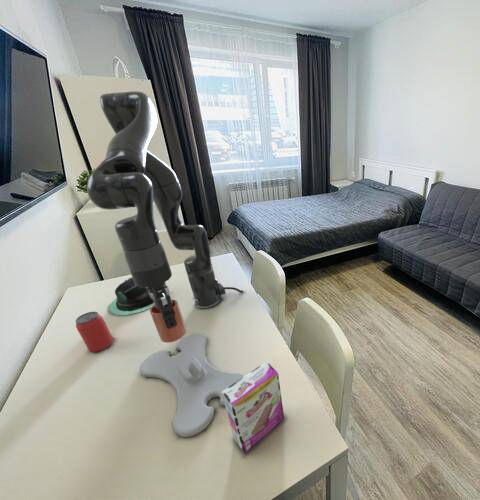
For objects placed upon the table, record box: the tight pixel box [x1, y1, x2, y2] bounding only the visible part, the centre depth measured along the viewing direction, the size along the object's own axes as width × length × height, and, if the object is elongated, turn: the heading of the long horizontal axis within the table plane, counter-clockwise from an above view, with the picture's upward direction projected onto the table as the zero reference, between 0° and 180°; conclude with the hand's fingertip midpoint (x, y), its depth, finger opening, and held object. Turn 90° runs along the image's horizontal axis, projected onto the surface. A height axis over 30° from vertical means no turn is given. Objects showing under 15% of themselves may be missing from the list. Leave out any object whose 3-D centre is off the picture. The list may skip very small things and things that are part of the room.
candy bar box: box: [222, 361, 285, 454], centre depth 61 cm, size 11×5×16 cm, turn 136°
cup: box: [149, 298, 187, 344], centre depth 69 cm, size 6×6×9 cm
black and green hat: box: [109, 277, 154, 316], centre depth 113 cm, size 15×19×20 cm
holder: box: [139, 332, 245, 438], centre depth 77 cm, size 19×34×5 cm, turn 49°
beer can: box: [75, 311, 114, 353], centre depth 87 cm, size 7×7×12 cm
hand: (168, 320), depth 69 cm, fingers closed on cup, 6 cm apart
